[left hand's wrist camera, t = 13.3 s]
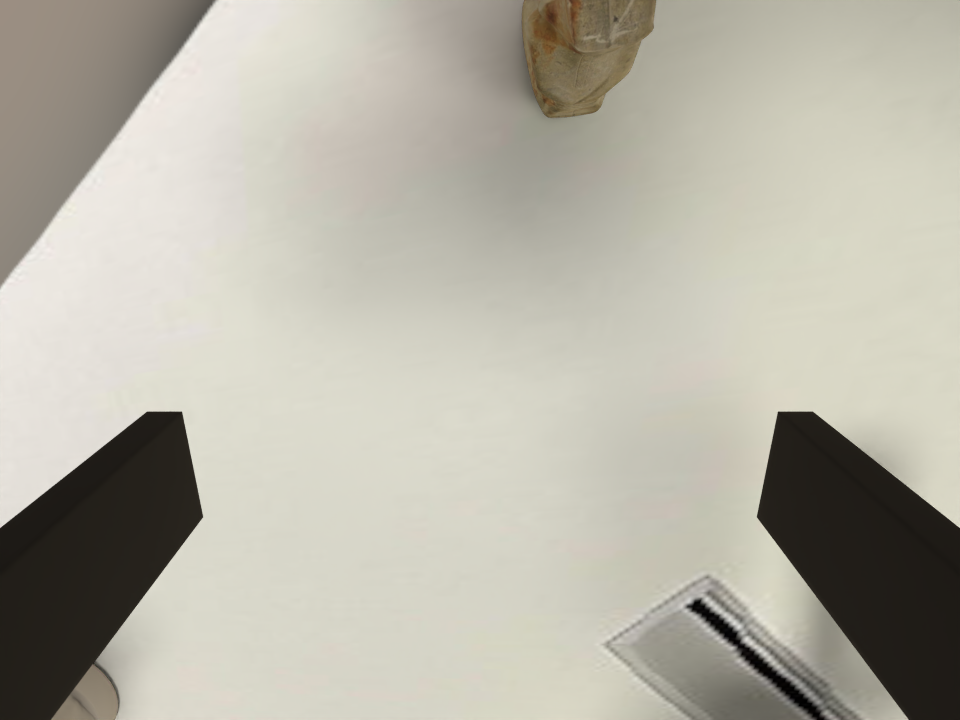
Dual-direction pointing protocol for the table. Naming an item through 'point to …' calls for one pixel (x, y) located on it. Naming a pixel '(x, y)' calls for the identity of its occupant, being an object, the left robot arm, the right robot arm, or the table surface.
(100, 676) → the bust sculpture
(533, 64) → the sculpture
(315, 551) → the table surface
